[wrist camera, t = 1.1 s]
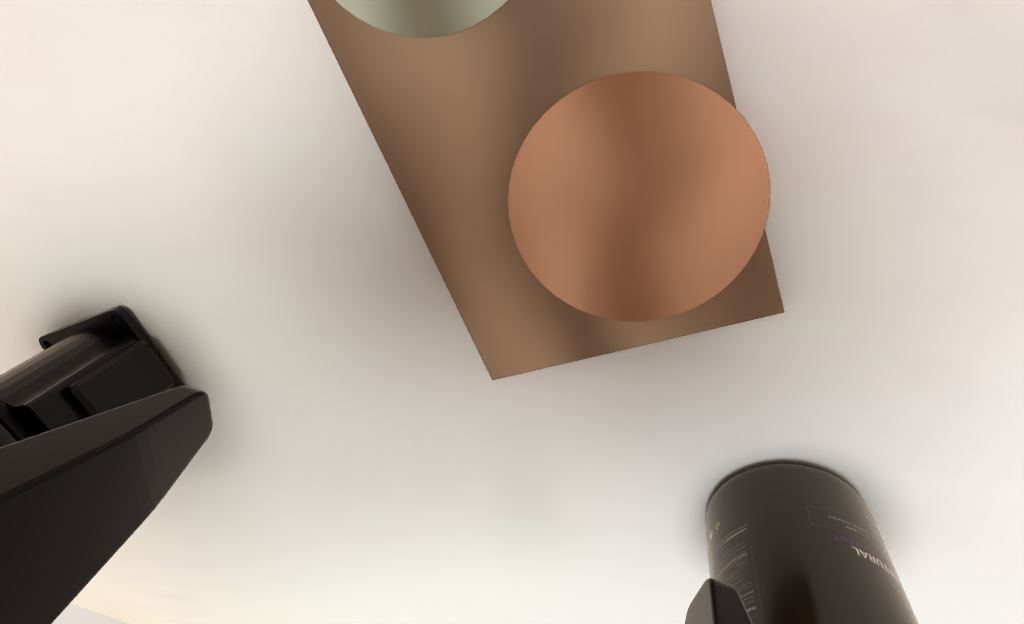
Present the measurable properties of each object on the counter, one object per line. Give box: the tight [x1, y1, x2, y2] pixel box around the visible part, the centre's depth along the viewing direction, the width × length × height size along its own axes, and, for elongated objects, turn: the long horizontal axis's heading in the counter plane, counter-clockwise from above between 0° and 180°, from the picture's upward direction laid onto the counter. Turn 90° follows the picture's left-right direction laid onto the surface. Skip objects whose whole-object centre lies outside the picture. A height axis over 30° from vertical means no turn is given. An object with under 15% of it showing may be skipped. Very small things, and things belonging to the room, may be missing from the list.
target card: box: [308, 0, 784, 380], centre depth 19 cm, size 12×22×1 cm, turn 23°
